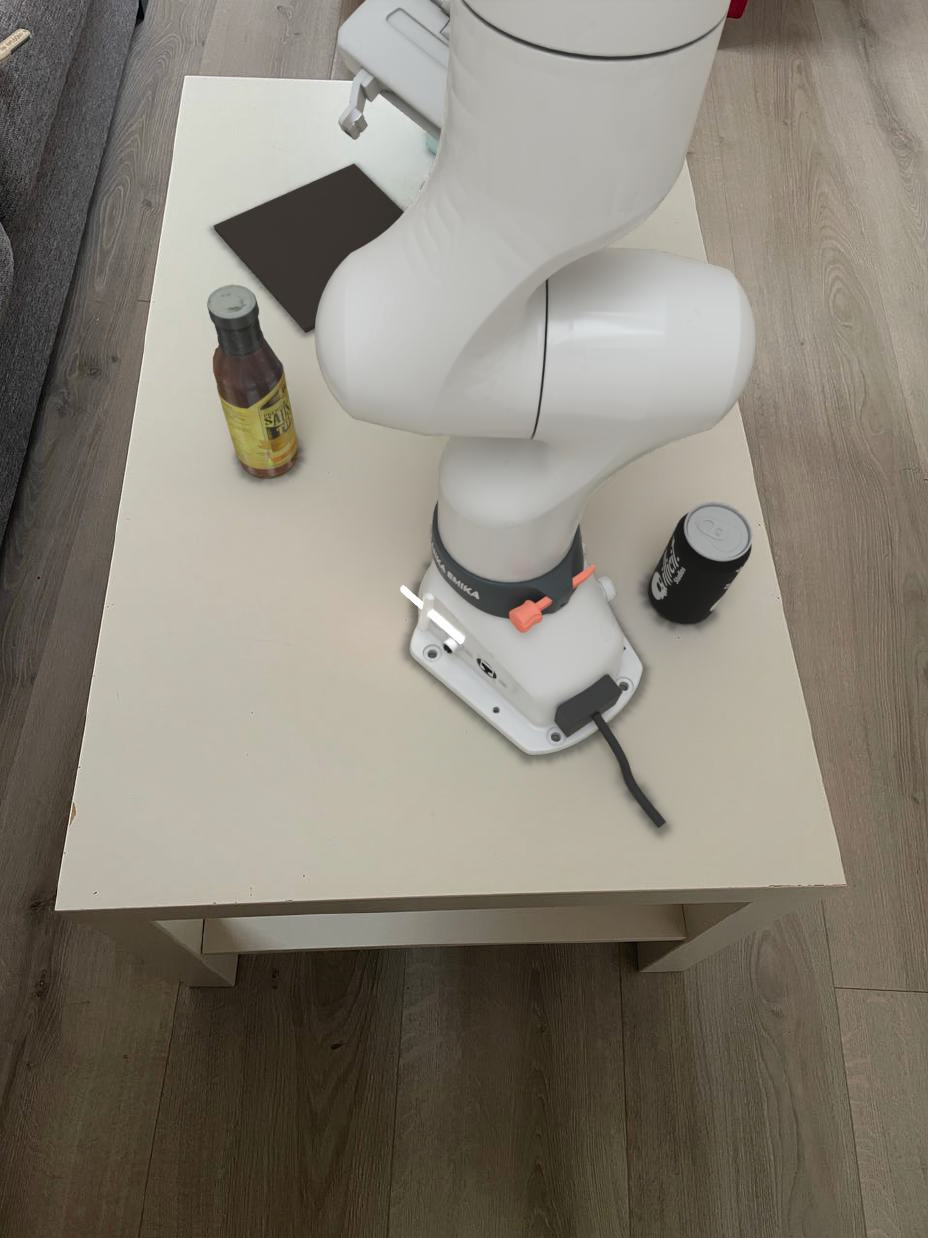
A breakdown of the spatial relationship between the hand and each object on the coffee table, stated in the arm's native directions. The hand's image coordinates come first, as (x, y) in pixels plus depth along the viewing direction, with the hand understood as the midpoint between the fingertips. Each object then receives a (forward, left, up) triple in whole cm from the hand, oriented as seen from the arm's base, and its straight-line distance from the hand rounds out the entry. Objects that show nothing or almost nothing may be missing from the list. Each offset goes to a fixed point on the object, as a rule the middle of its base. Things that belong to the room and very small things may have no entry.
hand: (386, 164), depth 73 cm
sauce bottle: (-3, +18, -24) cm, 30 cm away
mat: (+19, -4, -23) cm, 30 cm away
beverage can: (-40, -5, -24) cm, 47 cm away
